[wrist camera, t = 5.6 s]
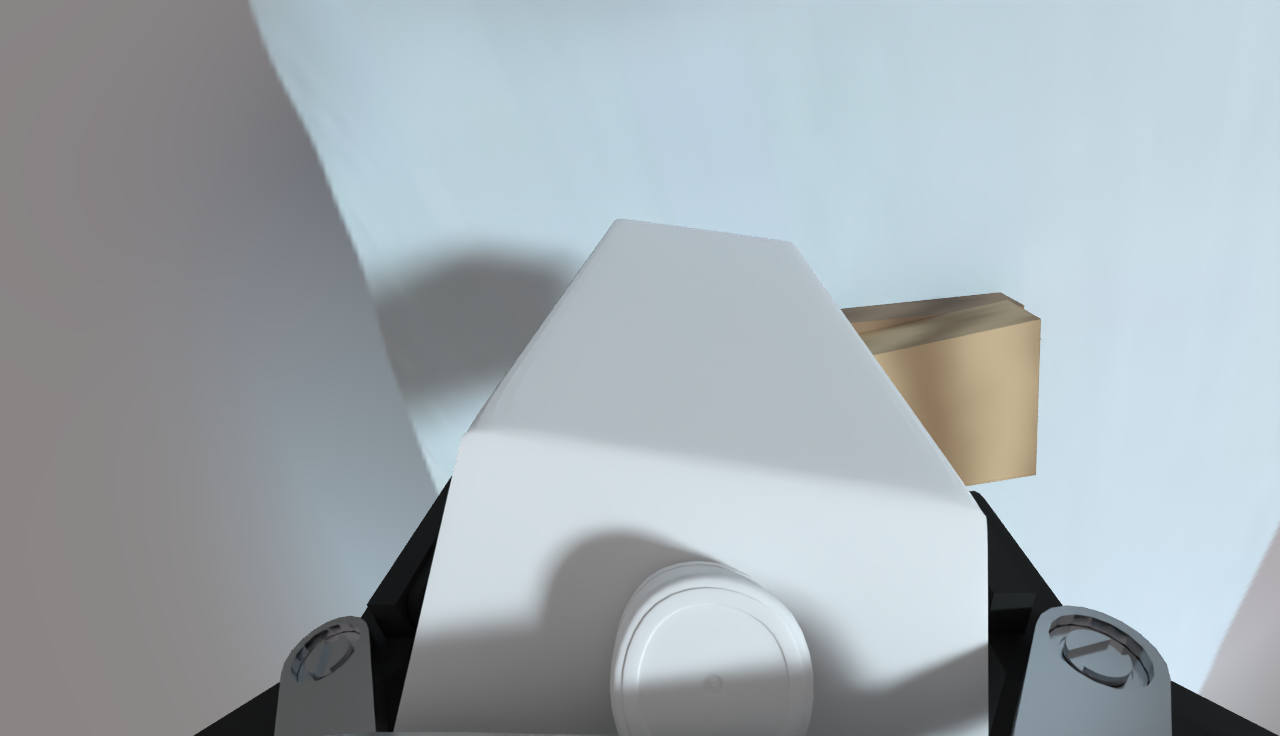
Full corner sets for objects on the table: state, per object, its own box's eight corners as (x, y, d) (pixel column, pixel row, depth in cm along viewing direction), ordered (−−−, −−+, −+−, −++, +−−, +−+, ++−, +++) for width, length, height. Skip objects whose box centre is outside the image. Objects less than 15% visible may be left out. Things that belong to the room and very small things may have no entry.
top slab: (1007, 299, 28) (1041, 319, 26) (1007, 445, 32) (1035, 474, 30) (823, 341, 30) (836, 363, 28) (844, 473, 34) (857, 503, 32)
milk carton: (755, 395, 23) (908, 1149, 6) (601, 372, 24) (365, 1041, 7) (794, 240, 20) (1320, 962, 3) (615, 216, 20) (218, 765, 3)
